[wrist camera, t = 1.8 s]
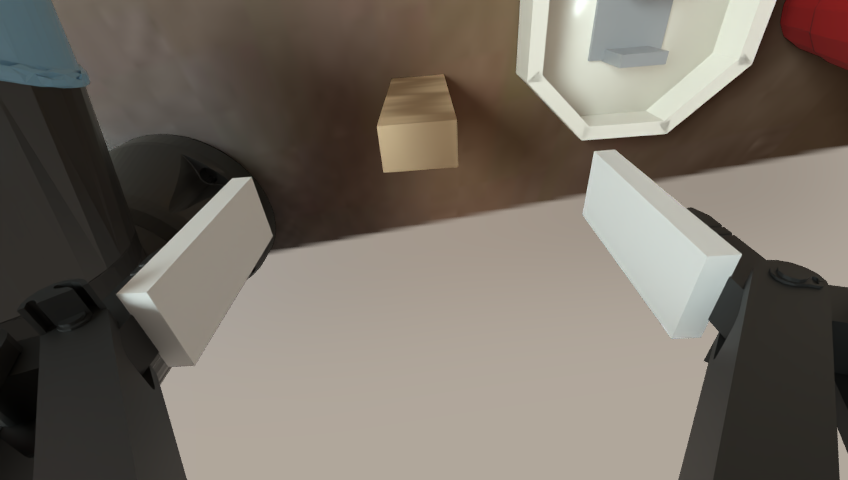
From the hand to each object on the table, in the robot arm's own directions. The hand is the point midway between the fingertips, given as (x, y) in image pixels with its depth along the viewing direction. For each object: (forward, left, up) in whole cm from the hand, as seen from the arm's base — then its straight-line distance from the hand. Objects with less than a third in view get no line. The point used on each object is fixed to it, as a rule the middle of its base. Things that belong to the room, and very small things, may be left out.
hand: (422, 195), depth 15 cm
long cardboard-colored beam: (0, 0, -17) cm, 17 cm away
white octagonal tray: (+15, +4, -17) cm, 23 cm away
